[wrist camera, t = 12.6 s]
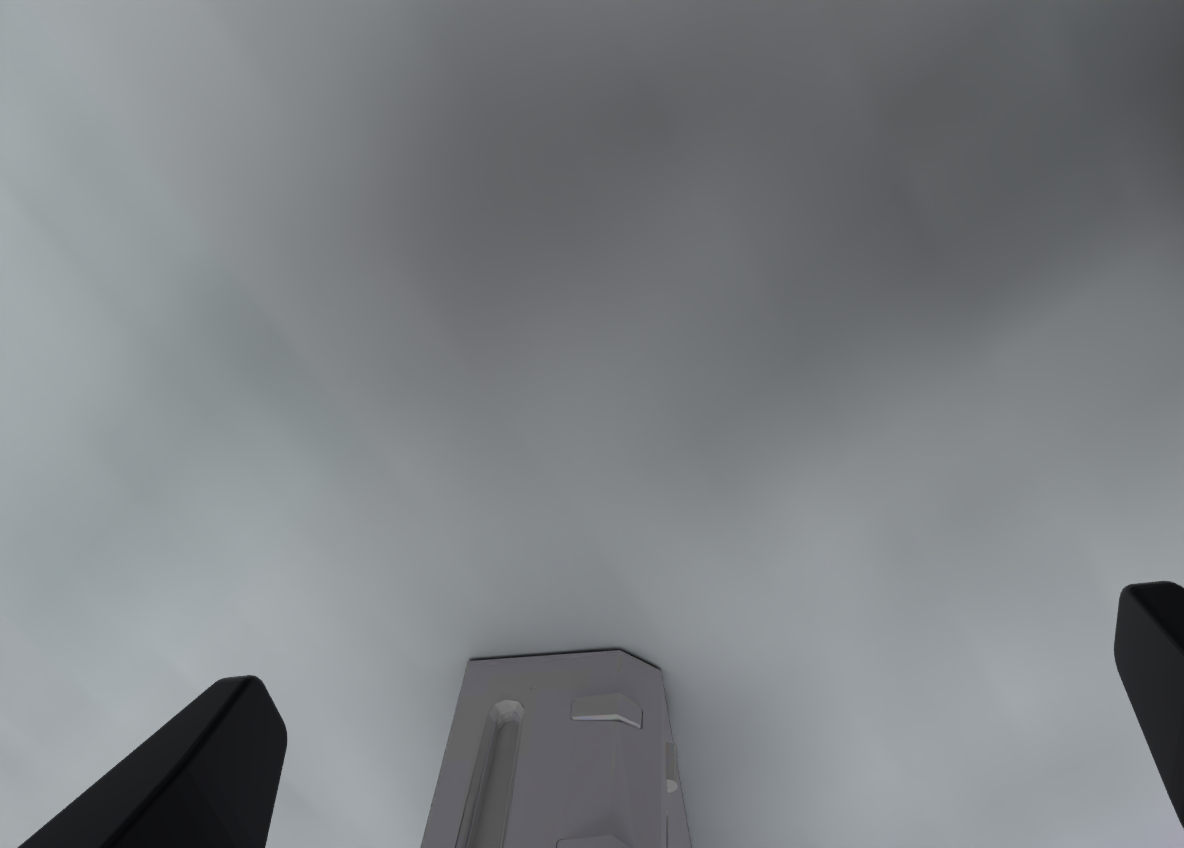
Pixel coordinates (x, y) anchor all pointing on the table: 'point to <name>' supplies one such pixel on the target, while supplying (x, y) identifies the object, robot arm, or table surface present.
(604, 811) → the game console
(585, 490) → the table surface
